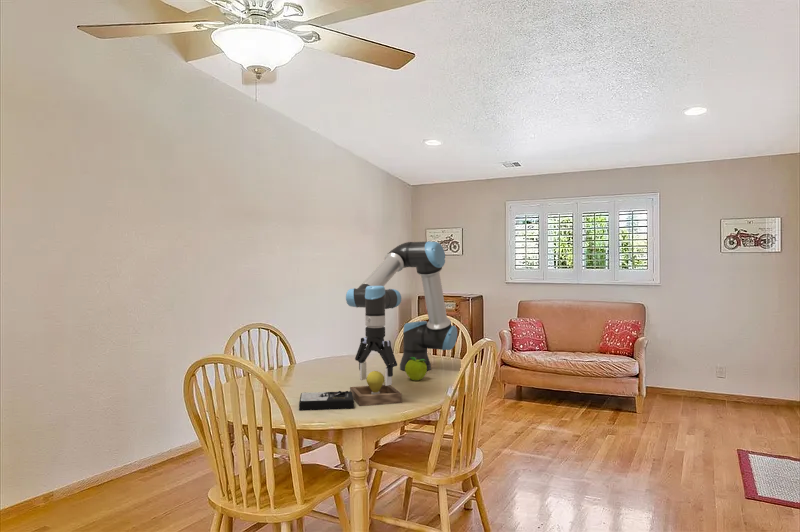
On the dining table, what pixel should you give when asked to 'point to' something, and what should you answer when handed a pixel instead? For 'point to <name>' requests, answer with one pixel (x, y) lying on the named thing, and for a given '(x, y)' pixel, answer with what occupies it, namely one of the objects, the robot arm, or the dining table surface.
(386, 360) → the robot arm
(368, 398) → the tray
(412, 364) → the fruit
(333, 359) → the dining table surface
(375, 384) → the light bulb
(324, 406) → the multimeter
